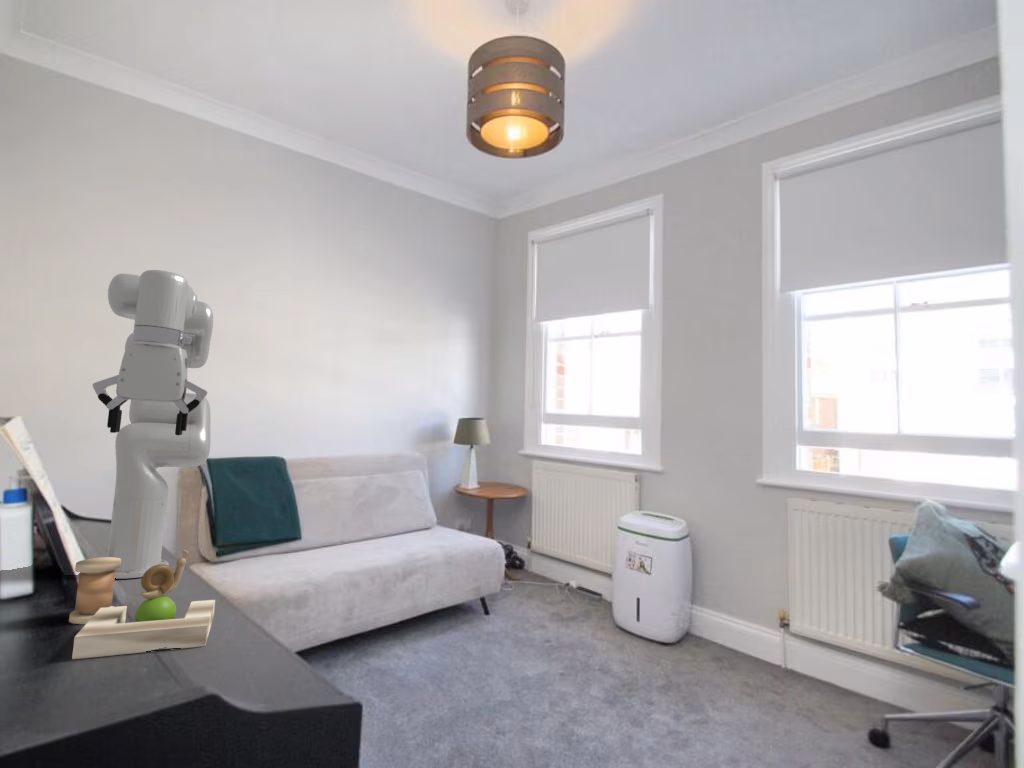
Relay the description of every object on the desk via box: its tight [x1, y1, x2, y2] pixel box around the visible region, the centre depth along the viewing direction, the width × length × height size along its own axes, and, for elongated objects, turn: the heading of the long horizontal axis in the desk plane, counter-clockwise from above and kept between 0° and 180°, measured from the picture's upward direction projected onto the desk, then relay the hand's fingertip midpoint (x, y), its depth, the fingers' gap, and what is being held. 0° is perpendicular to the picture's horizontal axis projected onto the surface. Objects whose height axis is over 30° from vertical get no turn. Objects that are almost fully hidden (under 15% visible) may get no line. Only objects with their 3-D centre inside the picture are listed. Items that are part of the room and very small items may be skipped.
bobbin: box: [68, 556, 121, 625], centre depth 88 cm, size 6×6×9 cm
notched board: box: [71, 599, 216, 660], centre depth 82 cm, size 12×16×3 cm
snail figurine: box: [134, 549, 189, 622], centre depth 84 cm, size 5×6×12 cm
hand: (147, 433), depth 95 cm, fingers open, 9 cm apart
